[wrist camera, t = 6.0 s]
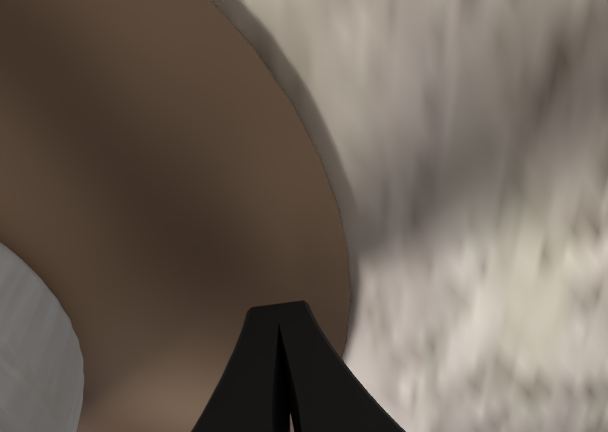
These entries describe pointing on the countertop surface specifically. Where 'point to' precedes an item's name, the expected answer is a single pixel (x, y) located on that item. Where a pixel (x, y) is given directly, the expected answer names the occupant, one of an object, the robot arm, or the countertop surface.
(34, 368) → the ramekin
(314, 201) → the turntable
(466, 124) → the countertop surface
